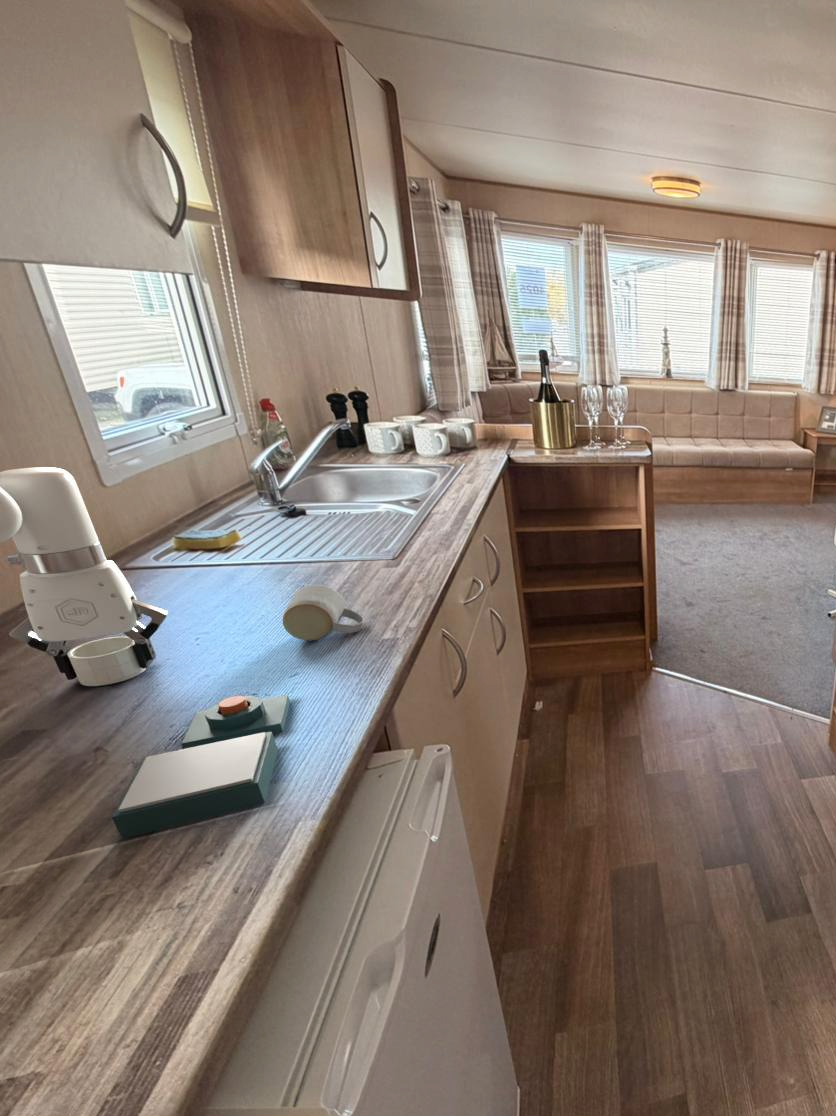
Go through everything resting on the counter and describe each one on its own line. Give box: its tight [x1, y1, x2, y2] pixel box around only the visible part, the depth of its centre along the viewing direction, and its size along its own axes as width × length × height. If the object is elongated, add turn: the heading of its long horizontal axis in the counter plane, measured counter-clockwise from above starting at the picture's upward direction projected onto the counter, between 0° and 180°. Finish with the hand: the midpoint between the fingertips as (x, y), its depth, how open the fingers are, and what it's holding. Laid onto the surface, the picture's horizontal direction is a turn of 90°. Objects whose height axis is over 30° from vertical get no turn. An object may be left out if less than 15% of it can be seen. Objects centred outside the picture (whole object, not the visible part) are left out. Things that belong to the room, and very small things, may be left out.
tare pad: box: [180, 694, 291, 749], centre depth 85 cm, size 10×8×3 cm
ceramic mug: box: [282, 584, 365, 642], centre depth 110 cm, size 11×8×8 cm
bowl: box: [67, 635, 147, 687], centre depth 95 cm, size 7×7×5 cm
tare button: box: [217, 695, 248, 715], centre depth 85 cm, size 3×3×1 cm
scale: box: [111, 732, 279, 839], centre depth 74 cm, size 12×11×3 cm
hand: (112, 669), depth 95 cm, fingers closed on bowl, 7 cm apart
